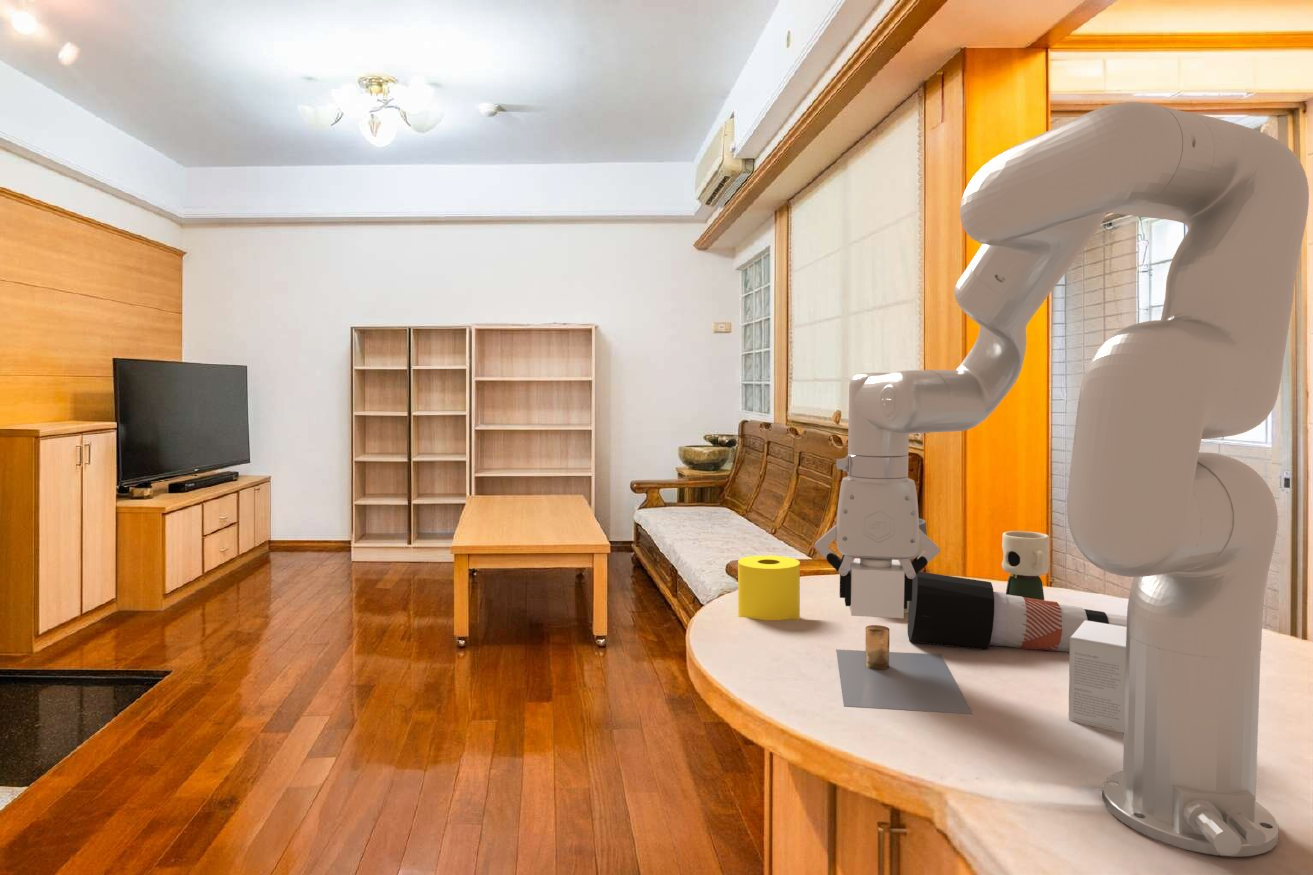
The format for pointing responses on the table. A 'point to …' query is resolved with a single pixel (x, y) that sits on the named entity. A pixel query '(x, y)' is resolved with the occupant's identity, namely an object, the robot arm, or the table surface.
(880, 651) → the brass cylinder
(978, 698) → the table surface
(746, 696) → the table surface
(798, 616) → the yellow toilet paper roll
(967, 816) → the table surface
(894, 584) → the white push button box
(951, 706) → the plate
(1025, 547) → the character mug
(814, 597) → the table surface
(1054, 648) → the black and white bottle
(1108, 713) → the small box
